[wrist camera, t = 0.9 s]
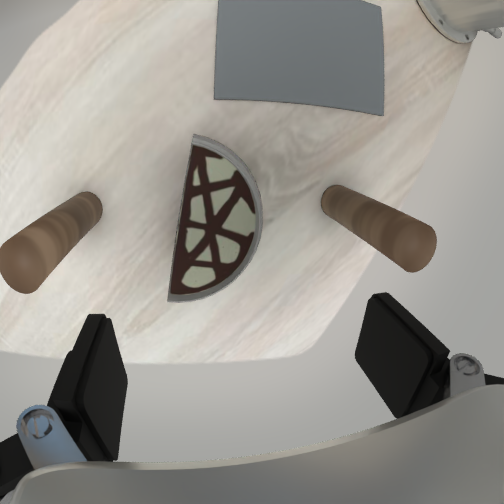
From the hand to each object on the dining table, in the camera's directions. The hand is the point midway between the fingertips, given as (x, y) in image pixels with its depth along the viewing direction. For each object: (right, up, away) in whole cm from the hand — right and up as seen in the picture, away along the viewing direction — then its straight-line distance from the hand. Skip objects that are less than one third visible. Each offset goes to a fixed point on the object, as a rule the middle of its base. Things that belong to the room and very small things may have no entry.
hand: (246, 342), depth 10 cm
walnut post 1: (-16, +7, +17) cm, 24 cm away
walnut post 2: (+9, +8, +21) cm, 25 cm away
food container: (-4, +8, +19) cm, 21 cm away
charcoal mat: (+6, +24, +14) cm, 29 cm away
